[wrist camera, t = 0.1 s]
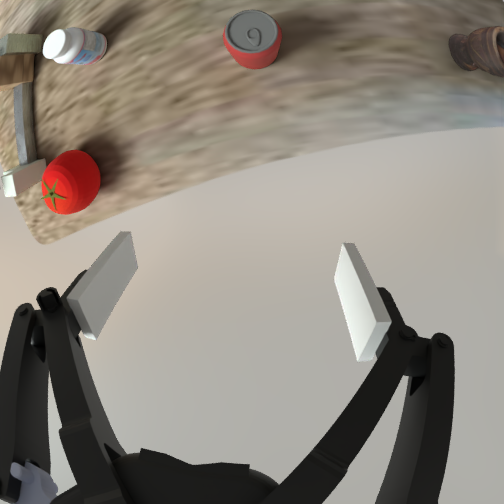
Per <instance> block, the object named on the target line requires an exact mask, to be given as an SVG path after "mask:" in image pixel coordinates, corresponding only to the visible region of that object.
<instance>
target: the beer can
mask: <svg viewBox="0 0 504 504" xmlns="http://www.w3.org/2000/svg"><path fill="white" fill-rule="evenodd" d="M281 39H282V33H281V28H280V27H279V25H278V23H277V22H276V21H275V20H274V19H273V18H272V17H271V16H270V15H268V14H267V13H264V12H262V11H258V10H245V11H242V12H239V13H237V14H235V15H234V16H233V17H231V18H230V20H229V21H228V23H227V24H226V26H225V29H224V33H223V40H224V44H225V46H226V48H227V49H228V51H229V52H230V54H231V55H232V56H233V58H234V59H235V60H236V61H237V62H238V63H239V64H240V65H242V66H244V67H246V68H249V69H262V68H264V67H267V66H269V65H270V64H271V63H272V62H273V61H274V60H275V58H276V57H277V54H278V51H279V47H280V44H281Z"/></svg>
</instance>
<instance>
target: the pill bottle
mask: <svg viewBox="0 0 504 504" xmlns="http://www.w3.org/2000/svg"><path fill="white" fill-rule="evenodd" d="M106 48H107V40H106V37H105V36H104V35H103V34H101V33H97V32H94V31H89V30H85V29H81V28H76V27H71V28H67V29H65V30H62V29H58V30H55V31H53V32H52V33H51V34H50V35H49V36H48V37H47V39H46V41H45V43H44V46H43V54H44V56H45V57H46V58H48V59H54V60H55V61H56V62H57V63H62V64H84V65H90V64H94V63H96V62H97V61H99V60H100V59H101V58H102V56H103V55H104V53H105V51H106Z"/></svg>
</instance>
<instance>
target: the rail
mask: <svg viewBox="0 0 504 504" xmlns="http://www.w3.org/2000/svg"><path fill="white" fill-rule="evenodd" d="M42 37H43V35H36V34H7V35H6V36H4V37H3V38H2V39H0V56H7V55H24V54H34V55H36V54H38V53H40V52H41V47H42ZM14 116H15V130H16V141H17V149H18V157H19V163H20V166H23V165H27V164H30V163H32V162H34V161H36V160H37V154H36V146H35V137H34V126H33V110H32V82H26V83H21V84H19V85H17V86H16V87H14Z"/></svg>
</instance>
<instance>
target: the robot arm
mask: <svg viewBox="0 0 504 504" xmlns="http://www.w3.org/2000/svg"><path fill="white" fill-rule="evenodd" d="M137 269H138V266H137V261H136V256H135V251H134V246H133V241H132V236H131V232H122V231H121V232H120V233H119V234H118V235H117V236H116V237H115V238H114V240H113V241H112V242H111V243H110V244H109V245H108V246H107V248H106V249H105V250H104V251H103V252H102V253H101V255H100V256H99V257H98V258H97V259H96V261H95V262H94V263H93V264H92V265H91V267H90V268H89V269H88V270H84V271H83V272H81V273H80V274H79V275H78V276H77V277H76V278H75V280H74V281H73V282H72V283H71V285H70V286H69V287H68V288H67V290H66V291H65V292H64V294H63V295H62V296H61V298H60V296H59V294H58V292H57V289H56V288H53V287H49V288H46V289H44V290H42V291H41V292H40V293H39V294H38V296H37V298H36V300H37V302H38V304H39V306H40V308H41V310H34V308H33V306H32V305H31V304H30V303H25V304H22V305H20V306H19V307H18V308H17V309H16V311H15V313H14V317H13V320H12V323H11V327H10V331H9V334H8V338H7V342H6V346H5V351H4V356H3V360H2V365H1V370H0V499H1V500H3V501H6V502H8V503H10V504H322V503H323V502H324V501H325V499H326V498H327V497H328V496H329V495H330V494H331V492H332V491H333V490H334V489H335V488H336V486H337V485H338V484H339V482H340V481H341V480H342V479H343V477H344V476H345V474H346V473H347V469H348V467H349V465H350V464H351V462H352V461H353V460H354V458H355V457H356V455H357V454H358V453H359V451H360V450H361V448H362V447H363V445H364V444H365V442H366V441H367V439H368V437H369V436H370V434H371V433H372V431H373V430H374V428H375V426H376V425H377V423H378V421H379V420H380V418H381V416H382V414H383V413H384V411H385V409H386V407H387V405H388V404H389V402H390V400H391V398H392V396H393V394H394V392H395V390H396V389H397V387H398V384H399V383H400V380H401V378H402V376H403V375H405V376H409V379H408V385H407V391H406V397H405V402H404V407H403V412H402V417H401V422H400V425H399V430H398V434H397V438H396V442H395V445H394V449H393V452H392V456H391V459H390V462H389V465H388V469H387V471H386V474H385V478H384V480H383V483H382V486H381V488H380V491H379V494H378V496H377V499H376V502H375V504H438V497H439V494H440V490H441V486H442V482H443V478H444V473H445V468H446V463H447V457H448V451H449V445H450V437H451V430H452V419H453V406H454V382H455V376H454V374H455V367H454V345H453V341H452V340H451V339H450V337H449V336H447V335H446V334H443V333H436V334H434V335H433V337H432V338H431V339H428V338H422V337H419V336H418V335H417V333H416V331H415V330H414V329H413V328H411V327H409V326H407V325H405V323H404V321H403V319H402V317H401V314H400V312H399V310H398V308H397V307H396V304H395V302H394V300H393V298H392V296H391V294H390V293H389V292H388V291H387V290H386V289H385V288H383V287H381V288H380V287H376V286H375V284H374V282H373V280H372V277H371V276H370V273H369V271H368V269H367V267H366V265H365V263H364V262H363V260H362V258H361V255H360V253H359V252H358V250H357V248H356V246H355V244H353V243H342V248H341V252H340V256H339V261H338V265H337V269H336V273H335V277H334V281H335V285H336V288H337V291H338V294H339V297H340V301H341V304H342V307H343V311H344V314H345V318H346V321H347V325H348V328H349V332H350V335H351V339H352V343H353V347H354V350H355V354H356V358H357V361H371V360H372V358H373V356H374V355H375V353H376V356H377V361H376V363H375V364H374V366H373V368H372V369H371V371H370V373H369V374H368V376H367V377H366V379H365V381H364V382H363V384H362V385H361V386H360V388H359V389H358V391H357V392H356V394H355V395H354V397H353V398H352V400H351V401H350V403H349V404H348V406H347V407H346V408H345V409H344V411H343V412H342V414H341V415H340V416H339V417H338V419H337V420H336V421H335V423H334V424H333V425H332V427H331V428H330V429H329V430H328V432H327V433H326V434H325V436H324V437H323V438H322V439H321V440H320V441H319V443H318V444H317V445H316V446H315V447H314V448H313V450H312V451H311V452H310V453H309V454H308V455H307V456H306V458H305V459H304V460H303V461H302V462H301V463H300V464H299V465H298V466H297V467H296V468H295V469H294V470H293V472H292V473H291V474H290V475H289V476H288V477H287V478H286V479H285V480H284V481H283V482H282V483H281V484H280V485H279V484H278V483H277V482H275V481H274V480H273V479H272V478H270V477H269V476H267V475H265V474H263V473H261V472H258V471H256V470H252V469H249V467H250V465H249V464H234V463H222V462H221V463H212V464H201V465H191V464H188V463H186V462H183V461H181V460H179V459H176V458H174V457H172V456H170V455H167V454H164V453H160V452H156V451H151V450H147V449H143V448H141V451H140V453H133V454H126V452H125V451H124V449H123V448H122V447H121V445H120V444H119V442H118V440H117V438H116V436H115V434H114V432H113V430H112V427H111V425H110V423H109V421H108V418H107V416H106V413H105V411H104V409H103V406H102V404H101V401H100V399H99V396H98V393H97V390H96V388H95V385H94V382H93V379H92V376H91V373H90V370H89V367H88V364H87V360H86V357H85V353H84V350H83V346H82V343H81V339H80V337H79V335H78V334H79V333H80V331H81V330H82V332H83V334H84V336H85V337H86V338H90V339H95V340H96V339H97V338H98V336H99V334H100V332H101V330H102V328H103V326H104V325H105V323H106V321H107V319H108V317H109V316H110V314H111V312H112V310H113V308H114V307H115V305H116V303H117V302H118V300H119V298H120V297H121V295H122V293H123V291H124V290H125V288H126V286H127V285H128V283H129V281H130V280H131V278H132V277H133V275H134V273H135V272H136V270H137ZM49 372H50V377H51V383H52V388H53V392H54V397H55V400H56V405H57V409H58V413H59V416H60V420H61V423H62V428H61V429H59V436H60V439H61V442H62V445H63V448H64V451H65V454H66V457H67V460H68V462H69V465H70V468H71V470H72V473H73V475H74V477H75V480H76V482H77V485H75V486H74V487H72V488H70V489H69V490H67V491H65V492H64V493H62V494H60V495H59V496H56V493H57V492H58V487H57V485H56V484H55V483H54V482H53V479H52V478H51V476H50V467H51V465H50V464H51V462H50V449H49V435H48V377H49Z"/></svg>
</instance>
